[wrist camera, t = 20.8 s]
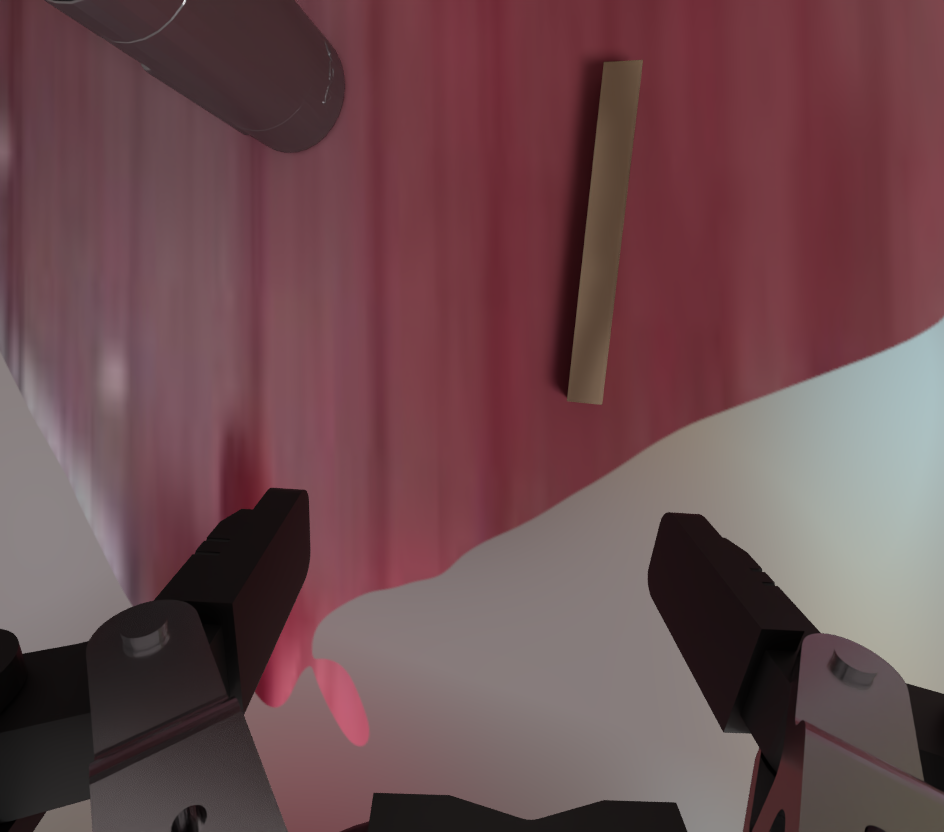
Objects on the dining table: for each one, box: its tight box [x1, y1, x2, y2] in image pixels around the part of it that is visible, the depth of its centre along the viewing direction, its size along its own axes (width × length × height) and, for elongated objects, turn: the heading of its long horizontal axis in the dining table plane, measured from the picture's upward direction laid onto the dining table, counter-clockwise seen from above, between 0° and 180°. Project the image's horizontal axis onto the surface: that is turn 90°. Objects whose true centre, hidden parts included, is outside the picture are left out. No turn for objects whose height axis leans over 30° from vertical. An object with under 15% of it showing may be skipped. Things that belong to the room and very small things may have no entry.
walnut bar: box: [567, 60, 643, 405], centre depth 34 cm, size 2×22×2 cm, turn 175°
